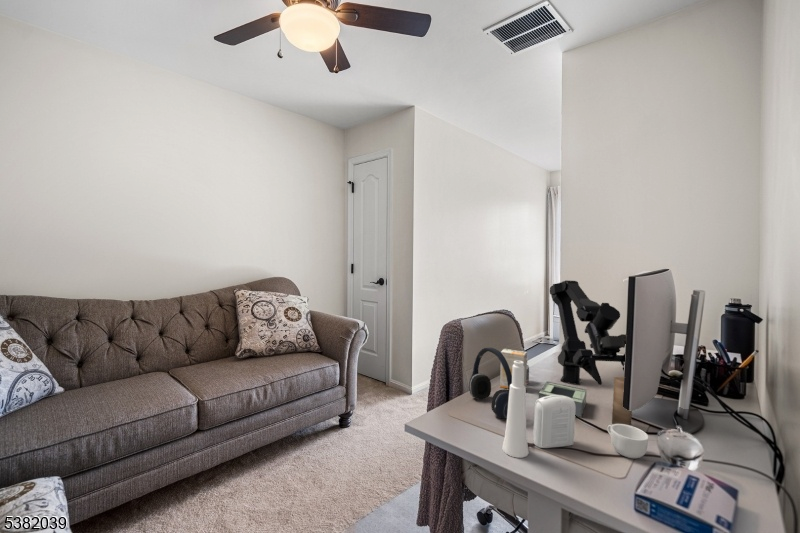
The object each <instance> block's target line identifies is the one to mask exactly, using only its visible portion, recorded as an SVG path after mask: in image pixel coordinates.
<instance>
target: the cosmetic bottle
mask: <svg viewBox="0 0 800 533" xmlns="http://www.w3.org/2000/svg"><path fill="white" fill-rule="evenodd" d="M523 364H524V362H522V361H518V360H516V361H514V365H513V366H512V384H510V390H509V400H508V412H507V418H506V426H505V433H504V439H503V442H502V446H501V448H502V451H503V453H505V454H506V455H508V456H510V457H513V458H517V459H522V458H525V457H528V455H529V447H528V439H527V438H528V437H527V436H528V435H527V434H528V433H527V396H526V395H527V392H526V390H527V386H526V387H525V386H524V370H525V367H524V366H523Z"/></svg>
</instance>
